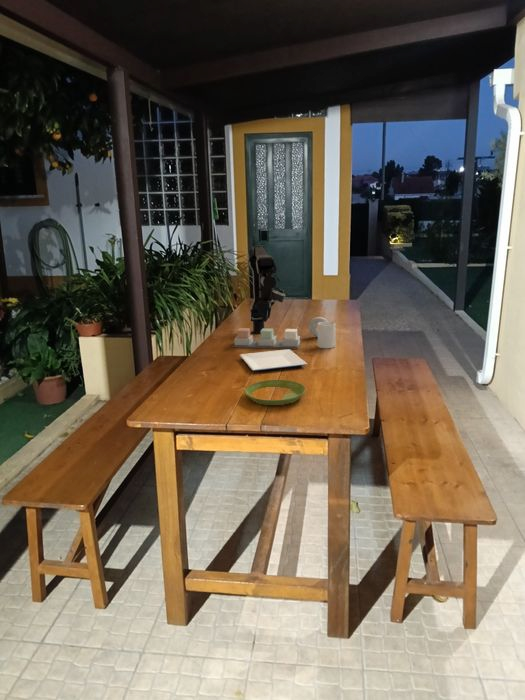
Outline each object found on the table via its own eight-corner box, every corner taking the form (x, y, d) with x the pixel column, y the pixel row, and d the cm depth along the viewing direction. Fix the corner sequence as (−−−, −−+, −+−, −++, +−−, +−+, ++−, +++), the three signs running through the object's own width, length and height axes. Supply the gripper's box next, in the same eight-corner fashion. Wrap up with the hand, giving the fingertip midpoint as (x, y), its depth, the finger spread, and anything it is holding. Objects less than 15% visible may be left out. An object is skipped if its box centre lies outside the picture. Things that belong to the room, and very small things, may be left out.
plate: (252, 374, 212) (252, 369, 212) (239, 358, 233) (239, 354, 232) (307, 368, 218) (307, 363, 217) (289, 353, 239) (289, 348, 238)
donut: (308, 338, 261) (308, 317, 258) (308, 336, 264) (308, 316, 261) (329, 338, 260) (329, 317, 257) (329, 336, 263) (329, 316, 260)
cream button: (286, 337, 251) (286, 328, 250) (297, 337, 250) (297, 329, 249) (284, 340, 246) (284, 331, 245) (295, 340, 245) (295, 331, 244)
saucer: (317, 395, 189) (317, 386, 188) (279, 414, 174) (278, 405, 173) (272, 383, 202) (272, 375, 201) (232, 400, 187) (232, 391, 187)
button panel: (239, 341, 259) (238, 333, 258) (300, 343, 253) (300, 335, 252) (234, 347, 249) (233, 339, 248) (297, 349, 244) (297, 340, 243)
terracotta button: (239, 336, 255) (239, 328, 254) (250, 336, 254) (249, 328, 253) (237, 339, 251) (236, 330, 249) (247, 339, 250) (247, 330, 248)
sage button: (262, 336, 253) (262, 328, 252) (273, 337, 252) (273, 328, 251) (260, 339, 248) (260, 331, 247) (271, 339, 247) (271, 331, 246)
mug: (333, 349, 242) (333, 325, 239) (316, 348, 244) (316, 325, 241) (338, 341, 253) (338, 319, 250) (321, 341, 255) (321, 319, 252)
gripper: (280, 289, 233) (281, 324, 237) (287, 282, 251) (287, 315, 255) (254, 289, 235) (255, 324, 240) (263, 282, 253) (264, 315, 257)
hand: (266, 319), depth 248 cm, fingers open, 7 cm apart
